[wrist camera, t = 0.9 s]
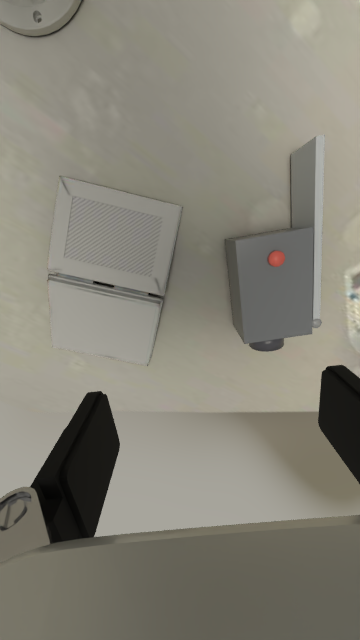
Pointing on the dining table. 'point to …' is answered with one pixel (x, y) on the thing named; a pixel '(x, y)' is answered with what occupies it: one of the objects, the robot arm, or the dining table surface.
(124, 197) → the gadget
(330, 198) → the dining table surface
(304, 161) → the side door
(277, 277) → the gray box with knob
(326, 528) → the robot arm
